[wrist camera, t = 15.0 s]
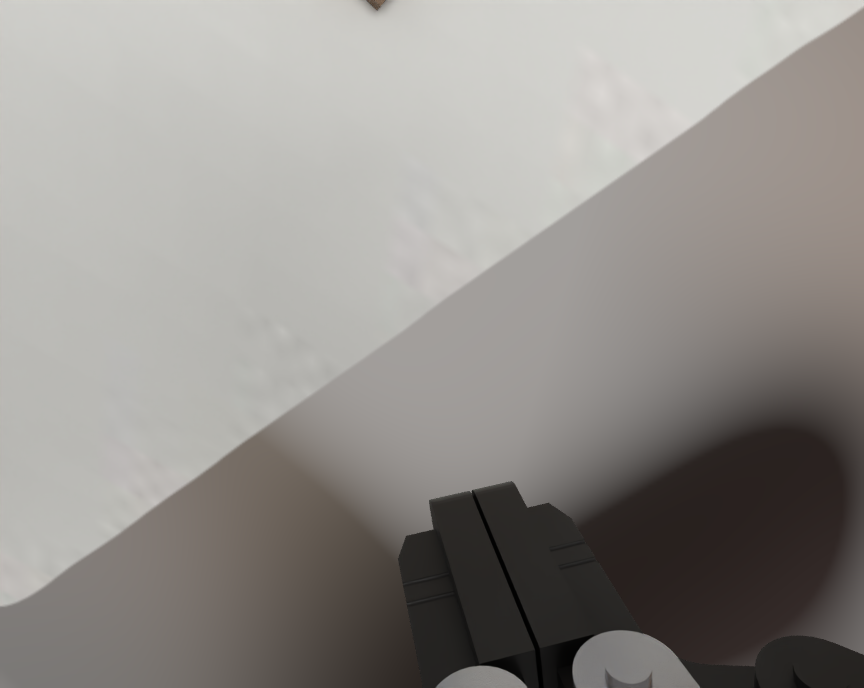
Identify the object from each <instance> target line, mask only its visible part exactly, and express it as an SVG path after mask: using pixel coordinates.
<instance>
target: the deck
mask: <svg viewBox="0 0 864 688" xmlns="http://www.w3.org/2000/svg"><path fill="white" fill-rule="evenodd" d="M367 1H368V2H369V3H370V4H371V5H372V6H373V7H374V8H375V9H376V10H378V9H379V8H380V6H381V5H382V4H383V3H384V1H385V0H367Z"/></svg>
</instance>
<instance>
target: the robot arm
mask: <svg viewBox="0 0 864 688" xmlns="http://www.w3.org/2000/svg"><path fill="white" fill-rule="evenodd" d="M429 504H430V511H431V517H432V523H433V528H434V530H430V531H426V532H421V533H417V534H413V535H409V536H406V538H405V541H404V544H403V547H402V549H401V552H400V555H399V558H398V561H399V566H400V571H401V576H402V582H403V587H404V592H405V597H406V602H407V607H408V613H409V618H410V623H411V628H412V633H413V639H414V643H415V649H416V654H417V659H418V664H419V670H420V674H421V679H422V686H423V688H864V655H863V654H860V653H858V652H855V651H853V650H850V649H848V648H845V647H843V646H840V645H838V644H835V643H832V642H829V641H826V640H824V639H819V638H814V637H808V636H788V637H782V638H779V639H776V640H773V641H772V642H770V643H768V644H767V645H766V646H765V647H763V648H762V649H761V651H760V652H759V654H758V656H757V659H756V663H755V667H753V666H727V665H708V664H699V663H694V662H689V661H686V660H683V659H680V658H677V657H676V656H675V654H674V653H673V652H672V651H671V650H670V649H669V648H668V647H667V646H665V645H664V644H663V643H661V642H659V641H658V640H656V639H654V638H652V637H650V636H648V635H645V634H643V632H642V631H641V630H640V628H639V627H638V625H637V624H636V622H635V621H634V619H633V618H632V616H631V614H630V612H629V611H628V609H627V608H626V606H625V604H624V603H623V601H622V600H621V598H620V596H619V595H618V593H617V591H616V590H615V588H614V587H613V585H612V584H611V582H610V580H609V579H608V577H607V575H606V574H605V572H604V571H603V569H602V567H601V566H600V564H599V562H597V561H596V560H595V556H594V555H593V553H592V551H591V550H590V548H589V546H588V545H587V544H585V542H584V538H583V537H582V535H581V534H580V532H579V530H578V529H577V527H576V525H575V524H574V522H573V521H572V519H571V518H570V517H569V516H567V515H566V514H564V513H563V512H561V511H560V510H558V509H557V508H555V507H554V506H552V505H551V504H549V503H546V504H542V505H537V506H533V507H529V508H527V506H526V504H525V503H524V501H523V499H522V497H521V495H520V493H519V491H518V489H517V487H516V486H515V484H514V483H513V482H512V481H511V482H506V483H502V484H497V485H493V486H488V487H484V488H480V489H475V490H472V494H471V493H470V491H467V492H462V493H458V494H454V495H449V496H445V497H440V498H436V499H431V500H429Z"/></svg>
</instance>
